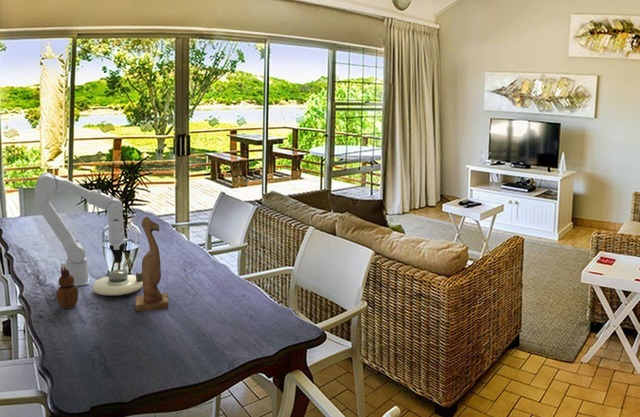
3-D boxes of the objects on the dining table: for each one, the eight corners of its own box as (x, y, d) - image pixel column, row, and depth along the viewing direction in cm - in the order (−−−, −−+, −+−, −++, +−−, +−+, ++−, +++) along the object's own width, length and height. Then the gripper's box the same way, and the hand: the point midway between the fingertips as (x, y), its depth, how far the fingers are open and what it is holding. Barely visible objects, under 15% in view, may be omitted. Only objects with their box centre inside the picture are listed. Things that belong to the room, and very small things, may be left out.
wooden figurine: (65, 311, 197) (61, 269, 193) (54, 307, 200) (50, 266, 196) (82, 305, 202) (78, 264, 199) (72, 301, 205) (68, 261, 202)
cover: (108, 282, 217) (107, 275, 216) (109, 276, 223) (108, 270, 223) (127, 281, 219) (127, 274, 218) (128, 275, 225) (127, 268, 225)
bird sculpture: (170, 309, 200) (169, 220, 194) (135, 312, 196) (133, 221, 190) (167, 298, 211) (166, 213, 204) (134, 301, 207) (132, 214, 200)
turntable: (90, 297, 206) (89, 285, 205) (94, 280, 223) (93, 269, 222) (143, 292, 212) (142, 280, 211) (142, 276, 228) (142, 265, 227)
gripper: (126, 233, 220) (128, 267, 223) (127, 223, 233) (129, 256, 236) (106, 234, 218) (109, 268, 221) (108, 225, 231) (111, 257, 234)
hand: (118, 262), depth 228 cm, fingers closed
